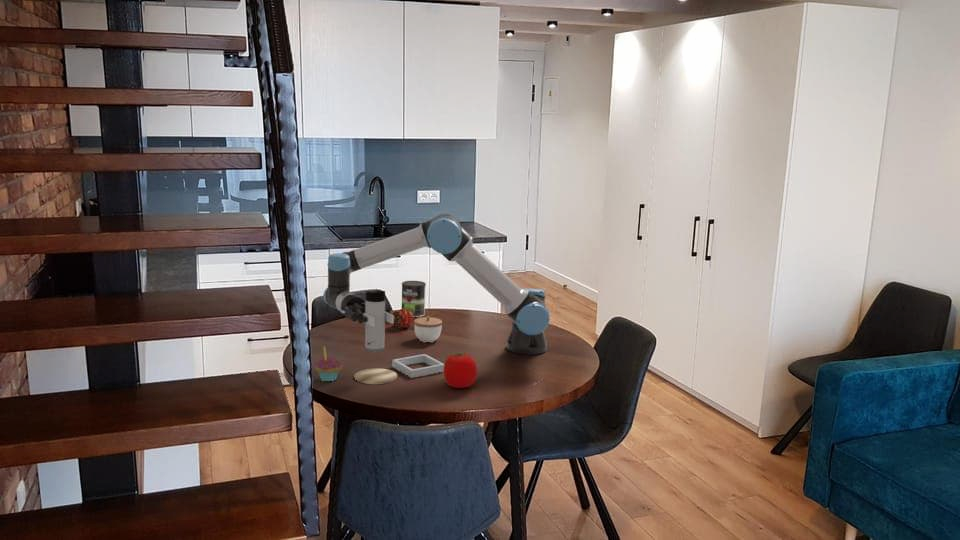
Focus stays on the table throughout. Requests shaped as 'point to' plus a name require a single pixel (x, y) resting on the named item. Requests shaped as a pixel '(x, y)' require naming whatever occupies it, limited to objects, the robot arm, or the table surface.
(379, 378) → the mat
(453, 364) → the tomato
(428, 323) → the lidded jar
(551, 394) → the table surface
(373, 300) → the travel mug
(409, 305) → the coffee can
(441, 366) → the grey square frame
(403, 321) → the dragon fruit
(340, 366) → the cupcake
